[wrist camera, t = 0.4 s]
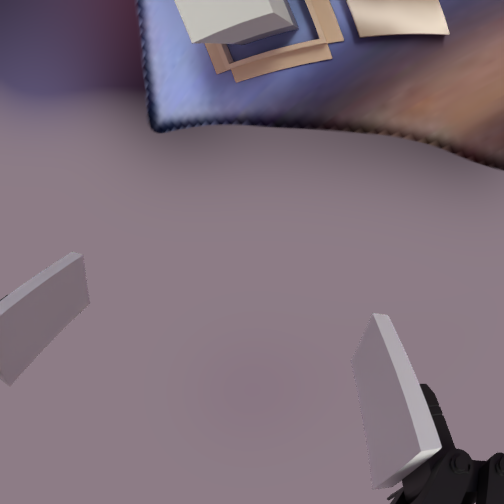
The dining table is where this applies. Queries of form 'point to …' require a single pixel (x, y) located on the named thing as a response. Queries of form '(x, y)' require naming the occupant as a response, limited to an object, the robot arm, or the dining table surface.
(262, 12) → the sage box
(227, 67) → the tan square frame
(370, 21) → the birch board
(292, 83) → the dining table surface
